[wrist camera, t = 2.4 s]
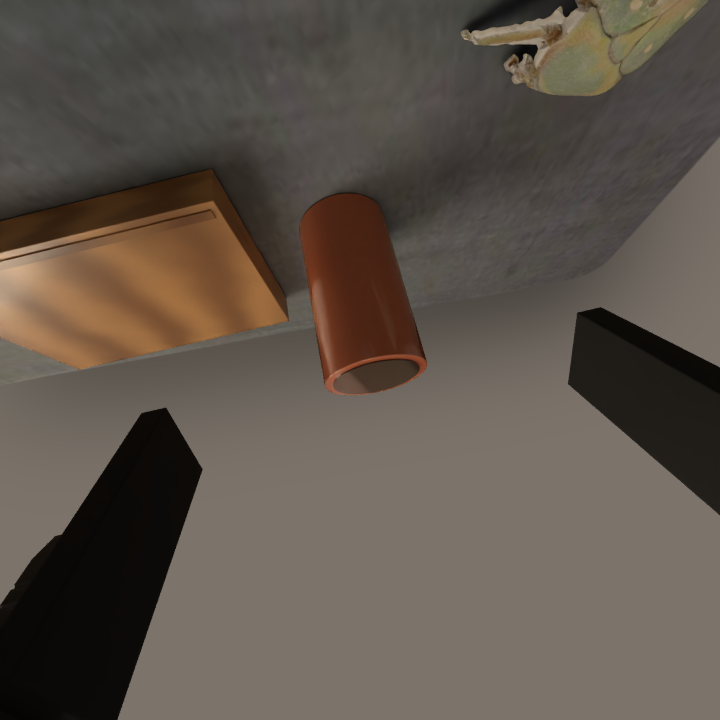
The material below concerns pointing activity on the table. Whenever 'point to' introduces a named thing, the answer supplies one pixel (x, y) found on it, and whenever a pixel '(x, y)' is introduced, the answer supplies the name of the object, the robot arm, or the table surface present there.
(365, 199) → the pen cup
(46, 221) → the oak board
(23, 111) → the table surface
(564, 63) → the decorative insect model
